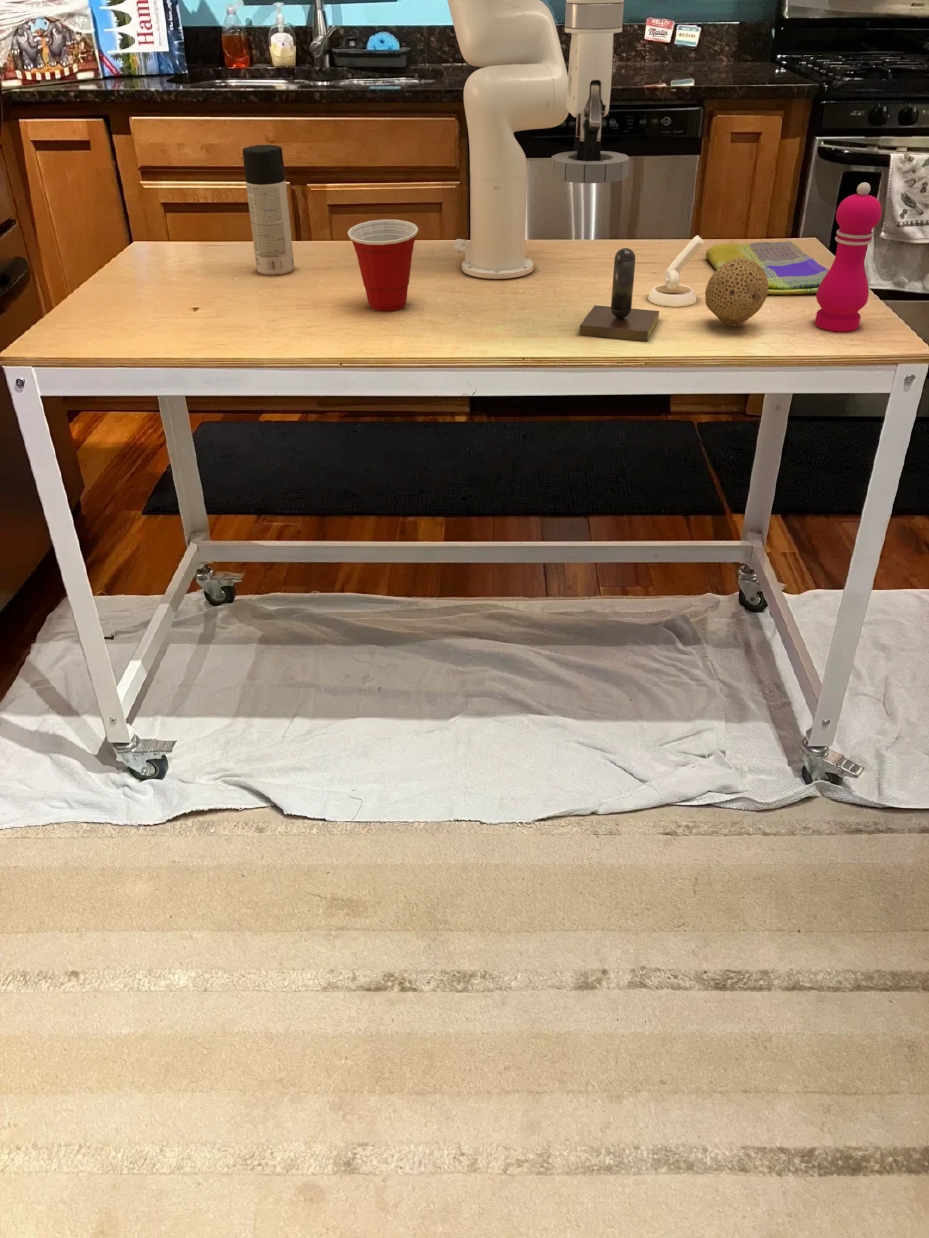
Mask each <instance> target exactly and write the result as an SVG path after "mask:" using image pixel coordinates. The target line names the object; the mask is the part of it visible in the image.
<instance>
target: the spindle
mask: <svg viewBox="0 0 929 1238" xmlns="http://www.w3.org/2000/svg"><path fill="white" fill-rule="evenodd" d="M613 261H614V262H613V273H612V274H613V275H612V286H611V288H612V289H611V301H610V306H608V305H599V304H598V305H597V304H595V305H593V307H592V308H591V309H590V311H588V314H587V315H586V316H585V318H584V319H583V320H582V322H581V323H580V325H579V335H580V336H588V337H597V338H599V337H600V338H608V339H618V340H629V341H636V342H637V341H638V342H639V341H640V342H648V340H649V339H650V337H651V335H652V333H653V332H654V330H655V328H656V326H657V324H658V322H659V320H660V319H659V318H660V310H653V309H642V308H633V307H632V306H633V293H634V282H635V270H636V269H635V268H636V254H635V252H634V251H633V250H632V249H631V248H628V247H623V248H620V249H619V250H617V252H616V253H615V255H614V260H613Z"/></svg>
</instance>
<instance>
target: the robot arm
mask: <svg viewBox="0 0 929 1238" xmlns="http://www.w3.org/2000/svg"><path fill="white" fill-rule="evenodd" d="M624 2H625V0H565V17H564V18H565V19H564V20H565V21H564V22H565V24H564V33H566V34H568V33H569V34H571V36H570V37H571V39H570V46H569V58H568V71H567V67H566V62H565V58H564V54H563V50H562V47H561V42H560V38H559V33H558V29H557V26H556V23H555V20H554V17H553V14H552V12H551V10H550V8H549V7H548V6H547V5H546V4H545V3H544V2H543V1H541V0H447V4H448V9H449V13H450V17H451V20H452V23H453V24H452V25H453V29H454V32H455V36H456V41H457V43H458V47H459V51H460V54H461V55H462V58H463V59H464V61H465V62H466V63H467V64H468V65H471V66H472V67H478V69H476V70H474V72H472V73H471V74H470V75H469V76H468V77H467V79H466V81H465V83H464V87H463V108H464V113H465V119H466V126H467V133H468V146H469V192H470V193H469V198H470V199H469V201H470V203H469V204H470V205H469V207H470V210H469V211H470V213H469V216H470V217H469V218H470V219H469V221H470V226H469V227H470V228H469V229H470V230H469V231H470V233H469V234H470V235H469V236H470V240H467V239H463V238H456V240H455V242H454V245H453V250H452V251H453V253H456V254H464V260H463V261H462V262H461V270H462V272H464V274H466V275H469V276H470V277H475V278H480V279H489V280H490V279H491V280H505V279H506V280H507V279H515V278H520V277H524V276H527V275H529V274H530V273H532V272H533V271H534V267H535V266H534V264H535V263H534V261H533V260H532V259H531V258H528V257H526V232H527V231H526V229H527V227H526V225H527V189H528V163H527V162H528V161H527V157H526V153H525V152H524V150H523V148H522V146H521V145H520V143H519V142H518V140H517V139H516V137H515V134H514V133H515V132H520V131H528V130H541V129H542V130H543V129H552V128H555V127H558V126H560V125H561V124H562V123H564V122H565V121H566V120H567V118H568V116H569V114H570V115H571V116H572V117H573V118H576V121H575V124H576V125H575V137H574V144H573V145H574V146H573V147H574V148H573V151H577V160H578V161H600V153H601V151H602V141H601V140H602V139H601V138H602V121H603V120H602V119H603V118H605V117H606V116H607V115H608V114H609V111H610V102H611V92H612V77H613V58H614V57H613V55H614V34H618V33H622V32H623V23H624V7H625V3H624Z"/></svg>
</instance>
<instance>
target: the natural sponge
mask: <svg viewBox="0 0 929 1238" xmlns="http://www.w3.org/2000/svg"><path fill="white" fill-rule="evenodd" d="M767 293H768V280H767V276H766V273H765V272H764V270H763V269H762V268H761V267H760V266H759V265H758V264H757V263H756V262H754V261H752V260H749V259H746V258H734V259H732V260H729V261H727V262H726V263H724V264H723V265H722V266H720V267H719V268H718V269H717V270H716V269H715V271H714V272H713V273H712V275H711V276H710V278H709V280H708V282H707V284H706V288H705V293H704V294H705V299H704V301H705V302H704V303H705V305H706V308H707V309H708V310H709V311H710V312H712V314H714V316H716V318H717V319H718V320H719V321H720V322H721V323H723V324H724V325H726V326H728V327H732V328H733V327H737V326H740V325H743V324H744V323H746V322H747V321H748V320H749V319H751V318H752V317H753V316H754V315H756V314H757V313H758V311H760V309H761V308H763V307H762V306H763V305H764V303H765V302H766V299H767V297H768V294H767Z"/></svg>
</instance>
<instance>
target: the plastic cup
mask: <svg viewBox="0 0 929 1238" xmlns="http://www.w3.org/2000/svg"><path fill="white" fill-rule="evenodd" d="M418 232H419V228H418V226H417V224H416V223H413V222H410V221H407V220H402V219H401V220H400V219H376V220H368V221H365V222H361V223H358V224H355V225H354V226H352V227H350V228H349V229H348V231H347V235H348V237H349V240H351V242H352V246H353V247H354V251H355V253H356V257H357V261H358V266H359V271H360V274H361V279H362V283H363V286H364V288H365V294H366V298H367V299H366V300H367V303H368V305H369V308H370V309H372V310H374V311H379V312H392V311H393V312H394V311H399V310H402V309H404V307H406V303H407V298H408V291H409V290H408V289H409V285H410V277H411V269H412V259H413V251H414V246H415V241H416V236H417V234H418Z"/></svg>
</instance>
